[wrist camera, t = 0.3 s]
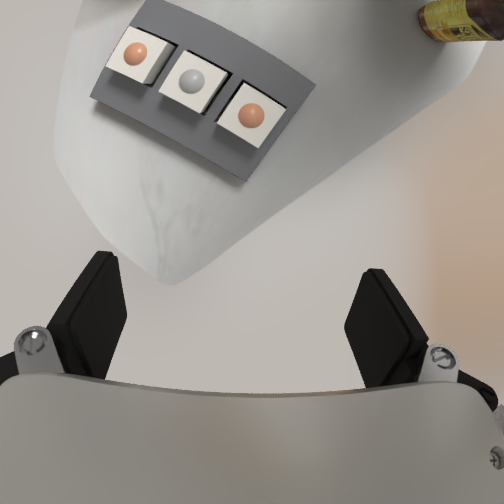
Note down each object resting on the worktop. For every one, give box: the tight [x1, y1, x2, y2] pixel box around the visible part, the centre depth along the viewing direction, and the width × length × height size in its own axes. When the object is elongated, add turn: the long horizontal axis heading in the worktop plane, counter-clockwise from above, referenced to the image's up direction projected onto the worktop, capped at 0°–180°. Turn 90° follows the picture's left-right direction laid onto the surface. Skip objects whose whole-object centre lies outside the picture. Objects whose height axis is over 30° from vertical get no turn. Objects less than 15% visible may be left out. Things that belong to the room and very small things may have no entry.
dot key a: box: [217, 83, 286, 148], centre depth 29 cm, size 5×5×4 cm
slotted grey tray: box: [90, 0, 316, 182], centre depth 29 cm, size 14×22×3 cm, turn 57°
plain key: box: [159, 50, 228, 113], centre depth 27 cm, size 5×5×4 cm
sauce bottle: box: [419, 0, 504, 42], centre depth 16 cm, size 6×6×20 cm
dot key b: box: [106, 26, 176, 84], centre depth 25 cm, size 5×5×4 cm
